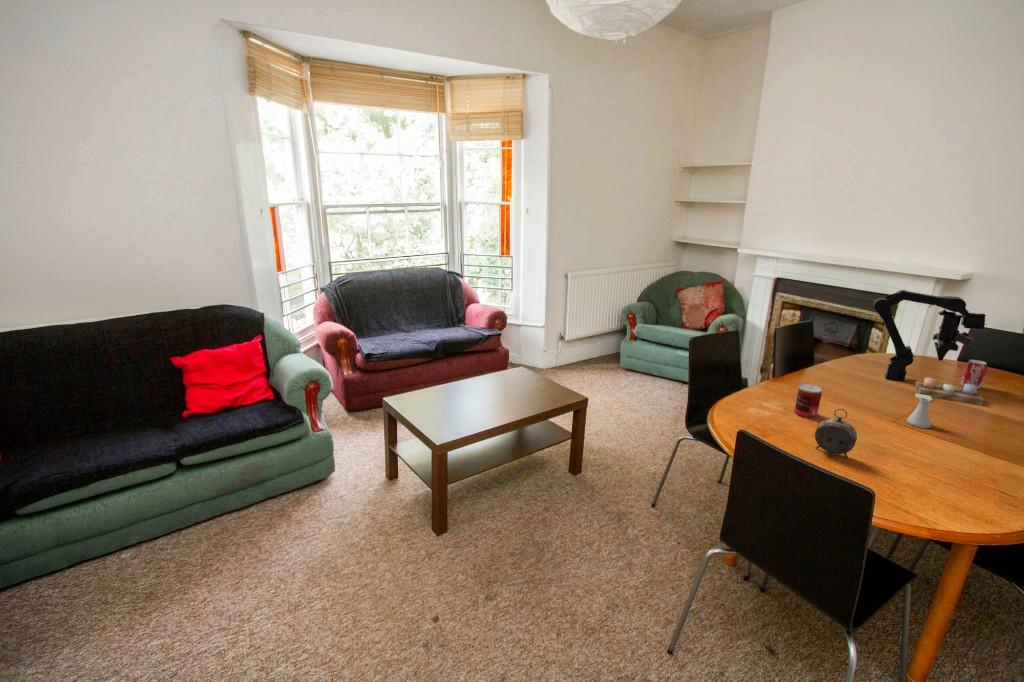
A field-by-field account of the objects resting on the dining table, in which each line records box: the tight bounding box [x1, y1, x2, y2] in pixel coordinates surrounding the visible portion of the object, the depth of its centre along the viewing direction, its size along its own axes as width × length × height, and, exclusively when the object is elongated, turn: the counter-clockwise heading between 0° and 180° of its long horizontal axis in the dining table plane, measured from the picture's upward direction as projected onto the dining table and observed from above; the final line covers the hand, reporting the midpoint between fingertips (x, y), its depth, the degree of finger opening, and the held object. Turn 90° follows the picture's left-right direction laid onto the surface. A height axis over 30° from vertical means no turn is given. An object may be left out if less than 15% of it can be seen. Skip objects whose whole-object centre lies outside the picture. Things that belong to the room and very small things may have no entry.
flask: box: [906, 398, 931, 429], centre depth 179 cm, size 7×7×10 cm
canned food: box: [793, 383, 823, 419], centre depth 186 cm, size 8×8×11 cm
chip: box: [914, 392, 933, 402], centre depth 204 cm, size 5×5×1 cm
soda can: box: [960, 359, 988, 390], centre depth 215 cm, size 7×7×12 cm
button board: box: [914, 380, 984, 406], centre depth 207 cm, size 20×12×2 cm, turn 59°
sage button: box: [942, 383, 957, 392], centre depth 206 cm, size 4×4×4 cm
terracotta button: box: [923, 377, 938, 389], centre depth 209 cm, size 4×4×4 cm
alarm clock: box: [814, 408, 858, 459], centre depth 156 cm, size 11×5×16 cm, turn 49°
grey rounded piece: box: [962, 384, 978, 396], centre depth 203 cm, size 4×4×4 cm
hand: (939, 360), depth 215 cm, fingers closed
